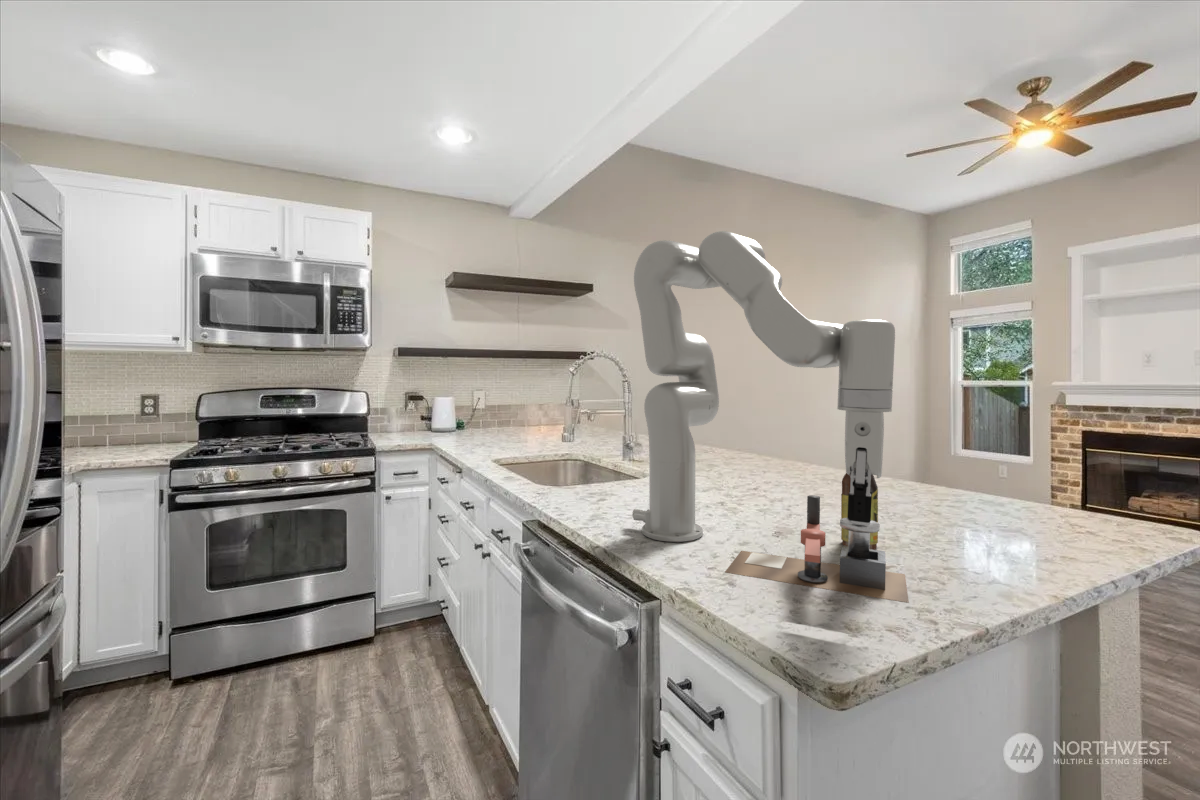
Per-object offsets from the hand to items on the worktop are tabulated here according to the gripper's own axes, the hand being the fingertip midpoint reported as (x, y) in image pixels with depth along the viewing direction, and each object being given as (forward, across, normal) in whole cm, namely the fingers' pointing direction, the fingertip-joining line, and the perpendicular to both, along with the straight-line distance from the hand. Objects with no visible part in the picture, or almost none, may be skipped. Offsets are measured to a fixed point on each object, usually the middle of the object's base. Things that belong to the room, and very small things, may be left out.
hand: (859, 517), depth 83 cm
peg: (+6, 0, 0) cm, 6 cm away
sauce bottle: (+11, +19, 0) cm, 22 cm away
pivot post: (+11, -3, +6) cm, 13 cm away
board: (+11, -1, +6) cm, 13 cm away
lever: (+4, -4, +6) cm, 9 cm away
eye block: (+11, 0, -1) cm, 11 cm away
